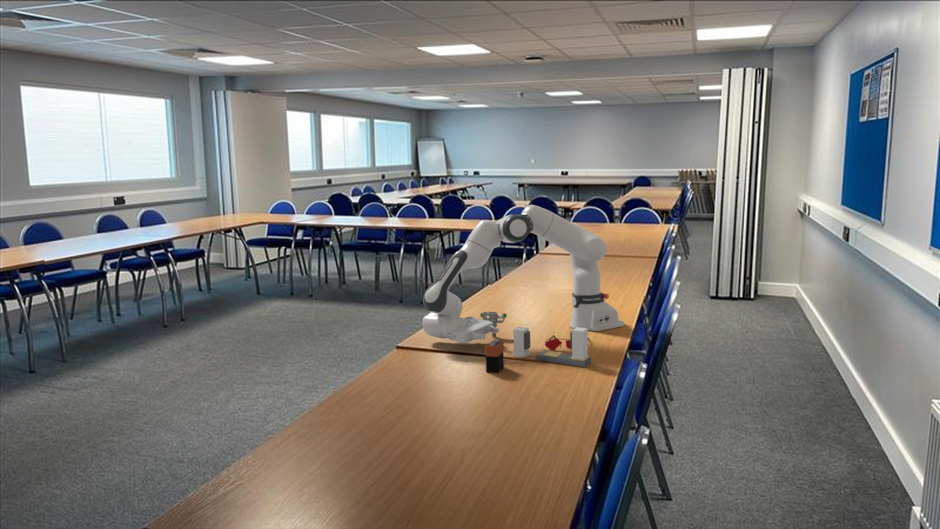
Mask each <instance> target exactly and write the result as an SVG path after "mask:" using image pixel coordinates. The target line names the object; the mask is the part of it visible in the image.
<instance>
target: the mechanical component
mask: <svg viewBox="0 0 940 529" xmlns="http://www.w3.org/2000/svg"><path fill="white" fill-rule="evenodd" d="M480 318H481V319H482V320H487V321H491V322H493V327H494V328H497V327H498V324H502V323H504V321H505V318H507V313H506V312H502V314H501V316H500V315H499V314H498V312H497V311H483V312H481V313H480ZM499 319H500V320H499ZM501 319H502V320H501ZM491 335H492V336H491V337H492V338H493V337H494V338H493V339H496V337H497V333H496V334H495V333H493V332H491Z"/></svg>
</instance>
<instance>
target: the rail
mask: <svg viewBox="0 0 940 529" xmlns="http://www.w3.org/2000/svg"><path fill="white" fill-rule="evenodd" d="M539 360H543V361H542V362H545V361H547V363H552V362H553V363H552V364H558V363H560V365H565V364H566V366H571V365H573V366H572V367H578V366H580V368H584V367H585V368H586V367H587V366H589V365H590V364H592V363H591V362H592V360H593V358H592V356H589V355H588V357H587V358H585V359H584V360H579V359H573V358H572V353H567V352H562V351H555V350H542V351H540V352H538V353H537V354H536V361H539ZM588 364H589V365H588Z"/></svg>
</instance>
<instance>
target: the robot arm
mask: <svg viewBox="0 0 940 529" xmlns="http://www.w3.org/2000/svg"><path fill="white" fill-rule="evenodd" d="M530 233H531V234H533V235H536V236H538V237H539V238H542V239H543V240H545V241H547V242H549V243H551V244H552V245H555V246H556V247H558V248H560V249H561V250H564V251H566V252H568V253H569V257H570V262H571V268H572V269H571V270H572V285H573V286H572V288H573V291H572V293H571V294H572V297H571V301H572V303H571V304H572V312H571V313H572V314H571V319H570V323H569V327H570V328H572V329H575V328H576V327H579V328H587V329H588V331H590V332H591V331H592V332H600V331H605V330H612V329H616V328H619V327H620V328H621V327H624V326H625V322H623V320H621V319H620V318H619V312H618V311H617V309H616V308H614V307H613V306H612V305H611V304H609V303H608V302H606V301H605V299H606V300H608V299H609V298H610V295H609V294H608V293H603V292H601V272H600V268H599V265H598V262H599V261H601V260H602V259H604V257H605V256H606V253H607V245H606V243H605V241H604V240H603V239H602V238H601V237H600V236H598V235H596V234H594V233H593V232H591V231H589V230H587V229H585V228H583V227H581V226H579V225H578V224H575V223H573V222H571V221H569V220H567V219H566V218H563V217H561V216H560V215H558V214H556V213H554V212H553V211H551V210H548V209H546V208H543V207H541V206H538V205H534V204H529V205H527V206H526V207H524V208H523V210H522V212H521V214H520V213H518V214H509V215H506V216H503V217H501V218H499V219H497V220H495V221H494V222H493V221H491V220H488V219H483V220H482V219H481V220H480V221H479V222H478V223H477V224H476V225H475V226H474V228H473V229H472V231H471V232H470V234H469V235H468V237H467V239H466V241H465V243H464V244H463V245H462V247H460V249H459V250H457V251H456V252H454V254H453V255H451V257H450V258H449V260H448V261H447V262H446V264H445V266H444V267H443V269H442V270H441V272H439V273H438V274H439V275H438V276H437V277H436V279H434V281H433V282H432V283H431V285H429V286H428V288H426V290H425V291H424V293H423V297H422V303H423V306H424V308H425V309H426V310H427V311H429V313H428V314H426V315H425V316H424V317H423V319H422V329H423V331H424V332H425V334H426V335H428V336H430V337H434V338H437V339H448V340H450V341H453V342H457V343H462V344H467V343H469V342H472V341H474V340H475V341H477V340H480V341H481V340H482V341H483V340H485V339H486V335H487V334H489V333H492V332H493V333H495V334H496V335H497V333H499V331H500V330H499V328H498V327H496V328H494V327H493V322H491V321H487V320H483V318H481V319H480V318H476V317H474V316H468V317H467V316H466V317H460V316H461V313H462V310H463V302H462V299H461V298H460V297H459V296H457V295H455V294H454V293H452V292H451V291H449V290H450V288H451V286H452V285H453V284H454V282H455V280H456V278H457V277H458V276H459V274H460V273H461V272H463V271H464V270H468V269H479V268H482V267H483V266H484V265H485V264H486V263H487V262H488V261H489V258H490V257H491V255H492V253H493V250H494V248H495V247H496V246H497V245H498V243H504V244H506V243H507V244H515V243H518V242H522V241H523V240H524V239H526V238H527V236H528V235H529V234H530Z"/></svg>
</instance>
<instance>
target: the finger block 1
mask: <svg viewBox="0 0 940 529" xmlns="http://www.w3.org/2000/svg"><path fill="white" fill-rule="evenodd" d="M529 329H530V328H529V327H523V326H518V327H515V328H514V329H513V357H514V356H517V357H516V358H521V357H525V356H526V357H528V356H530V348H531V331H530V330H529ZM527 355H528V356H527ZM526 357H525V358H526Z"/></svg>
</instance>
